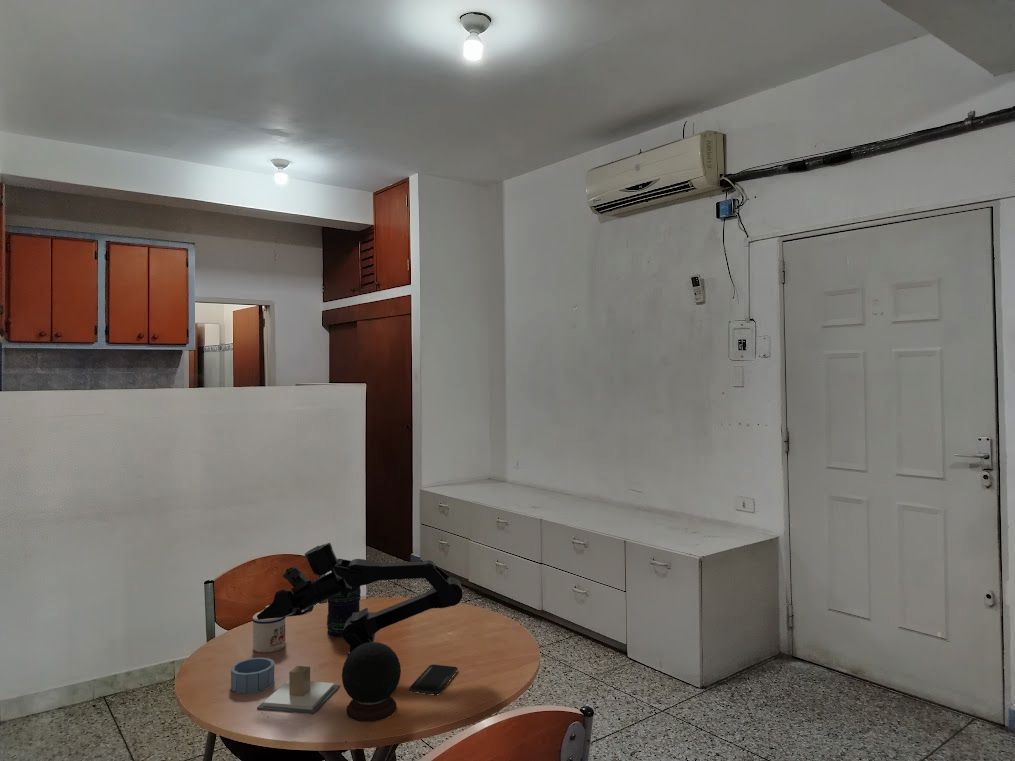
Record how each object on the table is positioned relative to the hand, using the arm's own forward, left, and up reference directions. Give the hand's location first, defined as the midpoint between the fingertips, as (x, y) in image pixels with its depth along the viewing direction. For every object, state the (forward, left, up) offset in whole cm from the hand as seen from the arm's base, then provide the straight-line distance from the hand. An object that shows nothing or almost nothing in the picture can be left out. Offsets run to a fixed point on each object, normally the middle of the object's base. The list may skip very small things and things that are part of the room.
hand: (264, 617), depth 174 cm
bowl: (0, +5, -15) cm, 16 cm away
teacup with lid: (+8, -19, -15) cm, 26 cm away
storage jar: (-8, -32, -15) cm, 36 cm away
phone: (-44, -4, -16) cm, 47 cm away
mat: (-15, +10, -15) cm, 23 cm away
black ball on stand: (-34, +13, -15) cm, 39 cm away
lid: (-15, +10, -15) cm, 23 cm away
